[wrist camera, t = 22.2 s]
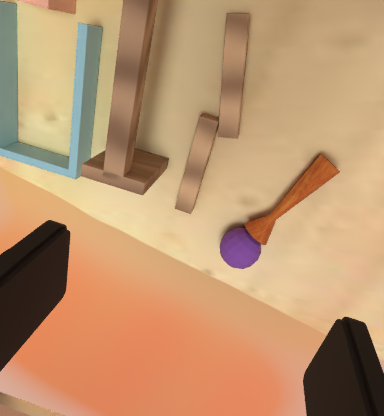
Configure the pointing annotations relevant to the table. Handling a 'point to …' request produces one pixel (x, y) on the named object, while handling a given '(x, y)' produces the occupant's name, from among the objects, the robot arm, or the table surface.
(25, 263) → the robot arm
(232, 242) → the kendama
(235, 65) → the plain stick
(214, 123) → the plain stick
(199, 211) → the table surface
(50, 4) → the clay-red block
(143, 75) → the crook rake
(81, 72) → the cubby
